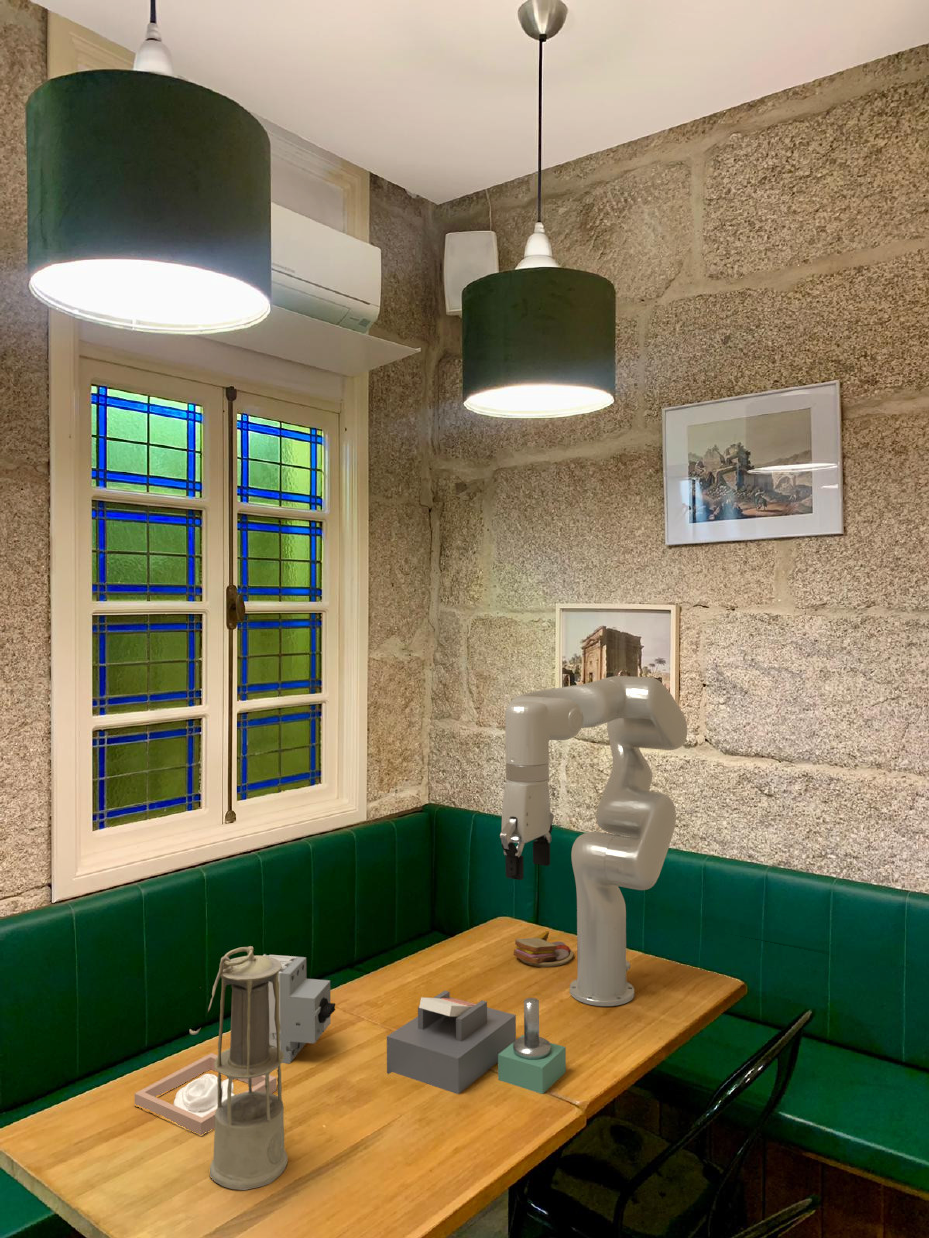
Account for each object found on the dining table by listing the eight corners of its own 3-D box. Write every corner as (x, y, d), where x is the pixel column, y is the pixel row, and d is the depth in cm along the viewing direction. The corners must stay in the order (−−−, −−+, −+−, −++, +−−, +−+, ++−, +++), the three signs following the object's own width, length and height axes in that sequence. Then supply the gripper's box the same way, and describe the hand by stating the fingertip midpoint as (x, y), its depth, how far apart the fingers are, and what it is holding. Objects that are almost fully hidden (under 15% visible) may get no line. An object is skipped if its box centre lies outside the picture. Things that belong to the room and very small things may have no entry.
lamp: (300, 1170, 120) (298, 948, 120) (205, 1209, 112) (204, 971, 112) (269, 1135, 128) (267, 927, 128) (178, 1168, 121) (177, 947, 121)
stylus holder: (522, 1061, 149) (522, 1034, 149) (565, 1074, 145) (565, 1046, 145) (498, 1082, 143) (498, 1054, 143) (542, 1096, 138) (542, 1067, 138)
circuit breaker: (324, 1066, 148) (324, 976, 148) (244, 1059, 151) (244, 970, 151) (340, 1045, 155) (339, 959, 155) (263, 1038, 158) (262, 954, 158)
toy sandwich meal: (584, 962, 193) (584, 940, 193) (530, 974, 187) (530, 951, 187) (553, 944, 204) (553, 923, 204) (501, 954, 198) (501, 933, 198)
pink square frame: (211, 1064, 149) (211, 1052, 149) (276, 1089, 141) (276, 1077, 141) (134, 1106, 136) (134, 1093, 136) (201, 1136, 128) (201, 1122, 128)
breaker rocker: (453, 1009, 155) (455, 998, 156) (483, 1017, 152) (485, 1006, 153) (419, 1007, 147) (421, 996, 147) (449, 1016, 144) (451, 1004, 144)
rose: (250, 1068, 139) (213, 1100, 130) (251, 1097, 139) (213, 1131, 130) (197, 1058, 143) (156, 1088, 134) (197, 1086, 143) (157, 1118, 134)
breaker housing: (448, 1029, 161) (448, 977, 161) (515, 1049, 153) (515, 994, 153) (386, 1072, 146) (386, 1014, 146) (458, 1097, 138) (458, 1035, 138)
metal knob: (524, 1062, 148) (524, 990, 148) (557, 1072, 145) (556, 998, 145) (506, 1078, 143) (505, 1003, 143) (539, 1088, 140) (539, 1012, 140)
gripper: (532, 764, 165) (533, 856, 165) (483, 779, 150) (484, 880, 150) (568, 767, 161) (569, 862, 161) (522, 783, 146) (523, 887, 146)
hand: (528, 871), depth 155 cm, fingers open, 9 cm apart
